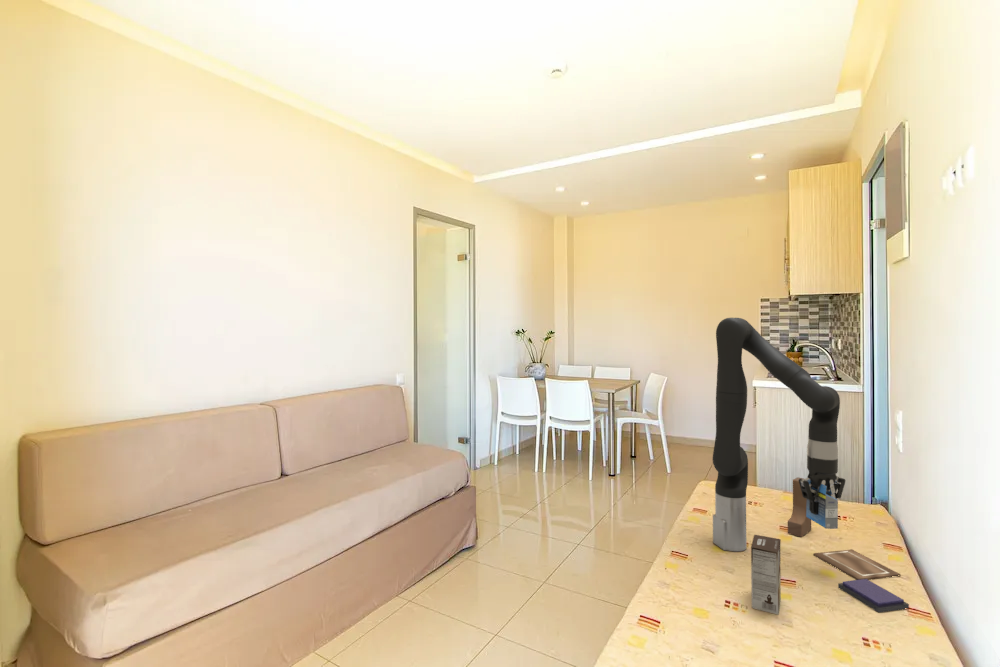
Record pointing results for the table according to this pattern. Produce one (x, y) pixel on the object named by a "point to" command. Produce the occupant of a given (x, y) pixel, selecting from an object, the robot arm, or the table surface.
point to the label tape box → (824, 510)
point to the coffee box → (766, 574)
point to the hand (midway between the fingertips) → (821, 512)
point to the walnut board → (856, 564)
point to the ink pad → (873, 595)
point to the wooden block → (798, 512)
